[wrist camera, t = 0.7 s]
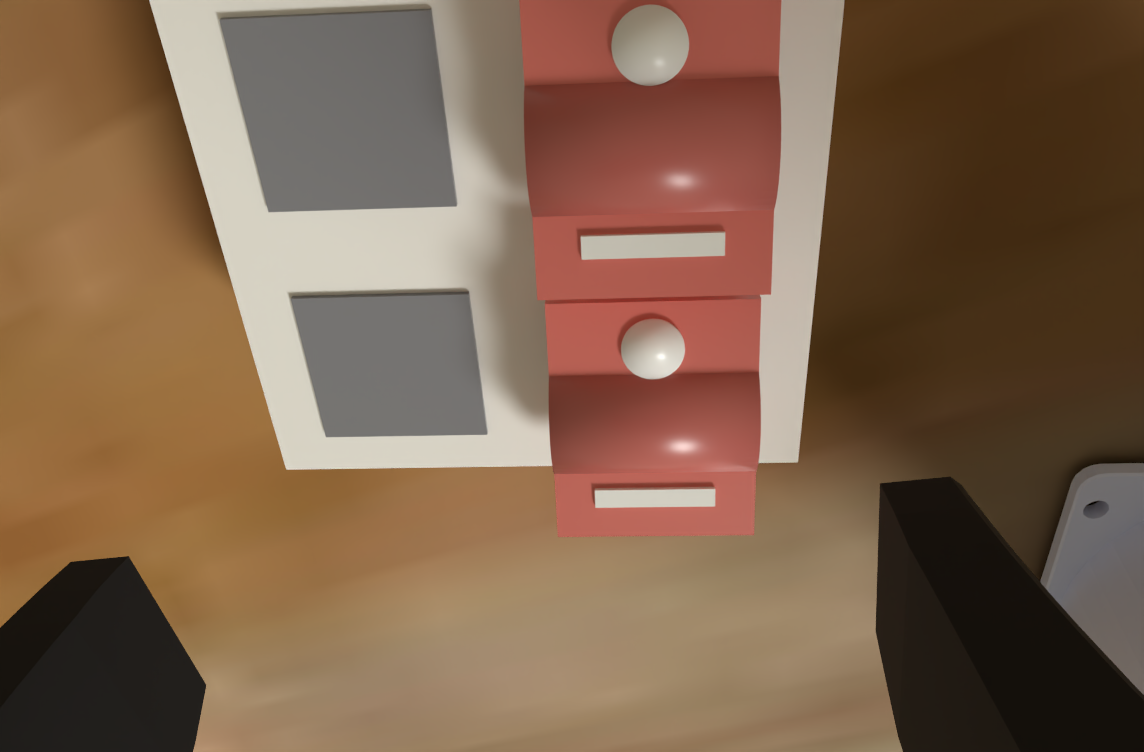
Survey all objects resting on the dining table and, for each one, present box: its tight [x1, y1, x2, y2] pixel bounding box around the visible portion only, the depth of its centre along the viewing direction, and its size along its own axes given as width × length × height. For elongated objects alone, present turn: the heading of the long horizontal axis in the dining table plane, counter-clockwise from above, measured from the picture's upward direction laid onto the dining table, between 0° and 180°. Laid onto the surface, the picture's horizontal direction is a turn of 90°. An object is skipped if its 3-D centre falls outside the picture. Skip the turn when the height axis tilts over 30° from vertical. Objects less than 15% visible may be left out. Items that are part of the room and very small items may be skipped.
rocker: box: [545, 295, 761, 537], centre depth 15 cm, size 4×3×2 cm
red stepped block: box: [519, 0, 781, 300], centre depth 13 cm, size 4×3×2 cm
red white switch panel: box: [149, 0, 845, 470], centre depth 15 cm, size 13×9×4 cm
